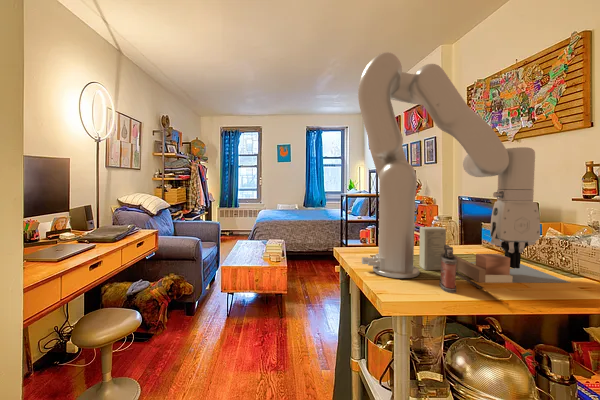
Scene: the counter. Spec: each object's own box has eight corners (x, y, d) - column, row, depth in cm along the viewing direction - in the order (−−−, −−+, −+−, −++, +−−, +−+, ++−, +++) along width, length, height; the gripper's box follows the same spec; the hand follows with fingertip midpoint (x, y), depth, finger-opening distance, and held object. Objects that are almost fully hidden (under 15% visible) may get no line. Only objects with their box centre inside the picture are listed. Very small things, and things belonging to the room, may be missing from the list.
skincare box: (438, 266, 91) (440, 226, 90) (445, 270, 87) (447, 228, 86) (418, 266, 91) (419, 226, 90) (424, 270, 87) (425, 228, 86)
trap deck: (478, 288, 72) (479, 270, 72) (443, 267, 90) (443, 252, 90) (570, 288, 72) (571, 270, 71) (516, 267, 90) (517, 252, 89)
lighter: (458, 293, 69) (460, 250, 68) (442, 292, 70) (443, 249, 69) (452, 282, 76) (453, 243, 76) (437, 281, 77) (438, 242, 77)
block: (485, 277, 75) (486, 257, 75) (475, 272, 80) (475, 253, 80) (509, 277, 75) (510, 258, 75) (497, 272, 80) (498, 253, 79)
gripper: (495, 197, 73) (492, 271, 74) (556, 197, 73) (553, 271, 74) (477, 196, 80) (474, 263, 81) (532, 195, 80) (530, 263, 81)
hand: (512, 266), depth 77 cm, fingers closed
